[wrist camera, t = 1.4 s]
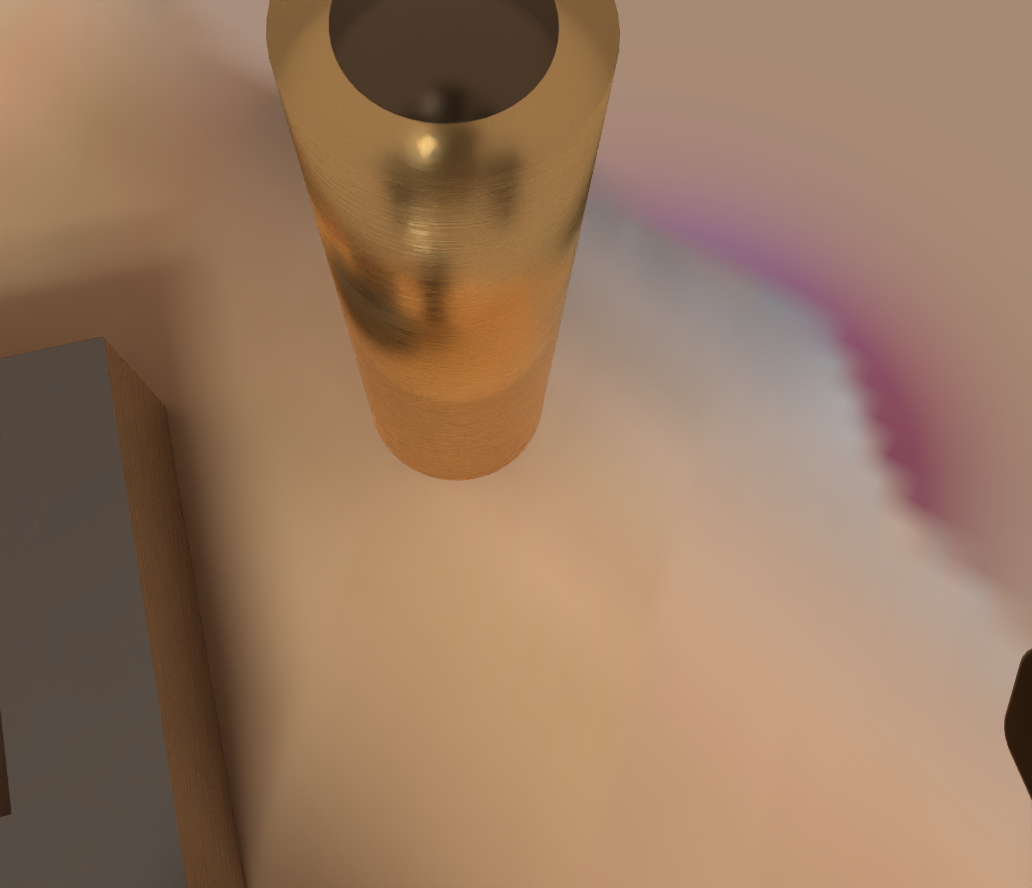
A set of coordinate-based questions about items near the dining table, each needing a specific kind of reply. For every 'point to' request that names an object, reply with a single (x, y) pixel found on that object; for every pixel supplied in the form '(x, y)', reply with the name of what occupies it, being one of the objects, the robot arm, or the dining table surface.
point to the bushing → (448, 199)
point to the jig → (102, 640)
